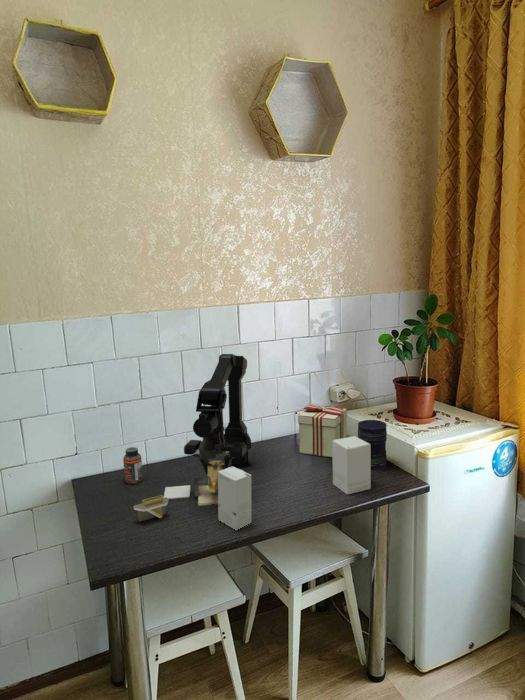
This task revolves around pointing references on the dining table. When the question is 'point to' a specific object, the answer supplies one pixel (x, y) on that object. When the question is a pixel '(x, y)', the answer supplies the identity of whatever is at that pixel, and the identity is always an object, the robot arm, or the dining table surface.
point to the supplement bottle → (132, 466)
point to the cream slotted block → (205, 493)
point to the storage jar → (374, 441)
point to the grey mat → (177, 492)
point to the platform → (151, 508)
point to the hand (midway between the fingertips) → (216, 474)
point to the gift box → (321, 429)
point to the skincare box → (234, 497)
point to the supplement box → (351, 464)
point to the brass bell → (214, 474)
